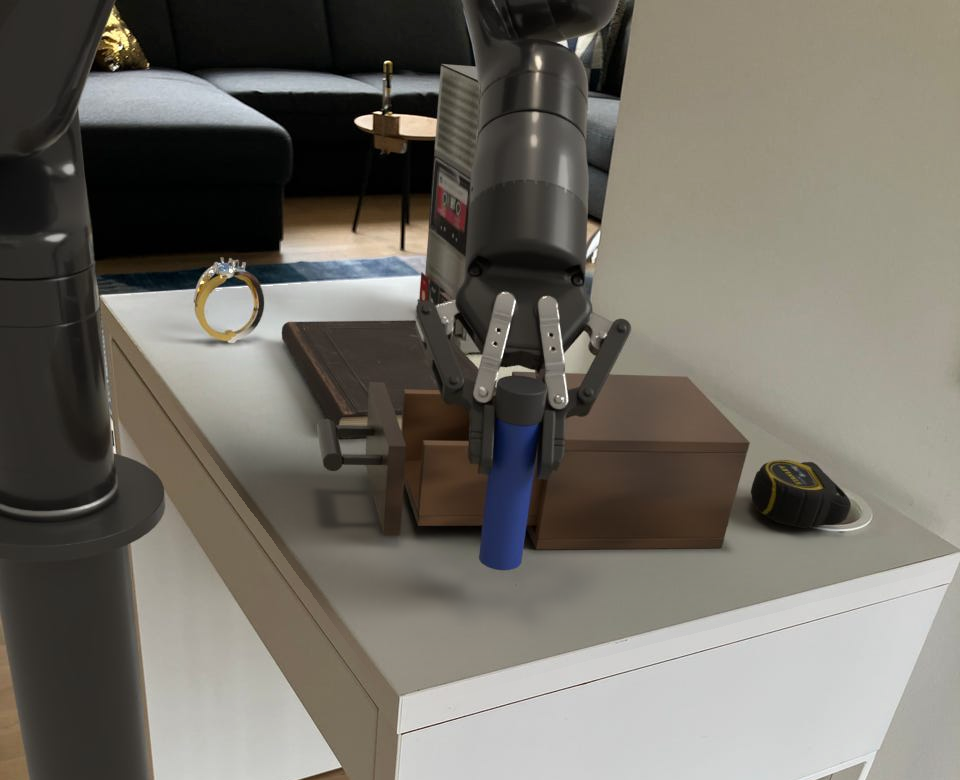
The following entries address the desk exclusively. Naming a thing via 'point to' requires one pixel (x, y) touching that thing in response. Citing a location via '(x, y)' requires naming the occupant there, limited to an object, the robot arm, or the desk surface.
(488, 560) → the marker
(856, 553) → the desk surface
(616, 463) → the cabinet
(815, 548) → the desk surface
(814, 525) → the tape measure
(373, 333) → the hardcover book
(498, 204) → the robot arm
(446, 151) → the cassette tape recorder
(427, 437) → the drawer
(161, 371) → the desk surface
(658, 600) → the desk surface
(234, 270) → the ring
